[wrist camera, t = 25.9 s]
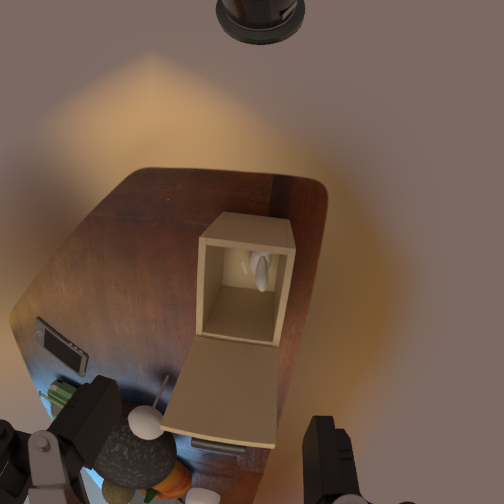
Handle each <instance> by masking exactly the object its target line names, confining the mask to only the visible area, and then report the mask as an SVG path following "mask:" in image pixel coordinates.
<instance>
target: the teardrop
mask: <svg viewBox="0 0 504 504" xmlns="http://www.w3.org/2000/svg"><path fill="white" fill-rule="evenodd" d="M219 501H220V495H219V494H217V493H216V492H213V491H210V490H207V489H202V488H190V490H189V491H188V492H187V496H186V501H185V503H186V504H219Z"/></svg>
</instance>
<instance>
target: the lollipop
mask: <svg viewBox="0 0 504 504" xmlns="http://www.w3.org/2000/svg"><path fill="white" fill-rule="evenodd" d="M168 378H169V375H167V376H166V378H165V380H164V383H163V385H162V387H161V389H160V391H159V393H158V395H157V398H156V400H155V402H154V404H153V406H152V407H151V406H147V405H143V406H138V407H136V408H135V409H133V410H132V411H131V412H130V413H129V416H128V421H129V426H130V429H131V430H132V432H133V433H134V434H135V435H136V436H138V437H140V438H142V439H146V440H152V439H155V438H157V437H159V436H160V435H162V434H163V433H164V431H165V430H161V427H160V424H161V421H162V419H163V416H162V414H161V413H160V412H159V411H158V410H157V409H155V406H156V404H157V402H158V400H159V397H160V395H161V393H162V391H163V389H164V386H165V384H166V382H167V380H168Z"/></svg>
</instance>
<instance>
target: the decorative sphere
mask: <svg viewBox="0 0 504 504" xmlns="http://www.w3.org/2000/svg"><path fill="white" fill-rule="evenodd" d="M138 406H141V405H138V404H135V403H130V402H122V411H121V414H120V417H119V418H118V420H117V422H116V424H115V426H114V428H113V430H112V431H111V433H110V435H109V437H108V439H107V441H106V443H105V445H104V446H103V448H102V450H101V452H100V454H99V456H98V458H97V460H96V462H95V464H94V466H93V469H94V470H95V471H96V472H97V473H98V474H99V475H100V476H101V477H102V478H104V479H105V480H106V481H108V482H110V483H112V484H114V485H116V486H119V487H122V488H125V489H132V490H140V489H147V488H151V487H153V486H156V485H158V484H159V483H161V482H162V481H164V480H165V479H166V478H167V477H168V476H169V474H170V473H171V471H172V470H173V467H174V465H175V462H176V455H177V450H176V443H175V439H174V437H173V435H172V434H171V432H169V431H164V433H163V434H162V435H160V436H159V437H157V438H155V439H152V440H146V439H142V438H140V437H138V436H136V435H135V434H134V433H133V432H132V430H131V429H130V426H129V421H128V416H129V413H130V412H131V411H132V410H133V409H135V408H136V407H138Z"/></svg>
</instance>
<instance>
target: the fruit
mask: <svg viewBox="0 0 504 504" xmlns="http://www.w3.org/2000/svg"><path fill="white" fill-rule="evenodd" d="M102 494H103V496H104V499H105V500H106V501H107V502H108V503H109V504H128V503H129V502H130V501H131V500H132V498H133V496H134V494H135V490H132V489H125V488H122V487H119V486H116V485H114V484H112V483H110V482H108V481H106V480H105V479H104V481H103V484H102Z"/></svg>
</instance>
